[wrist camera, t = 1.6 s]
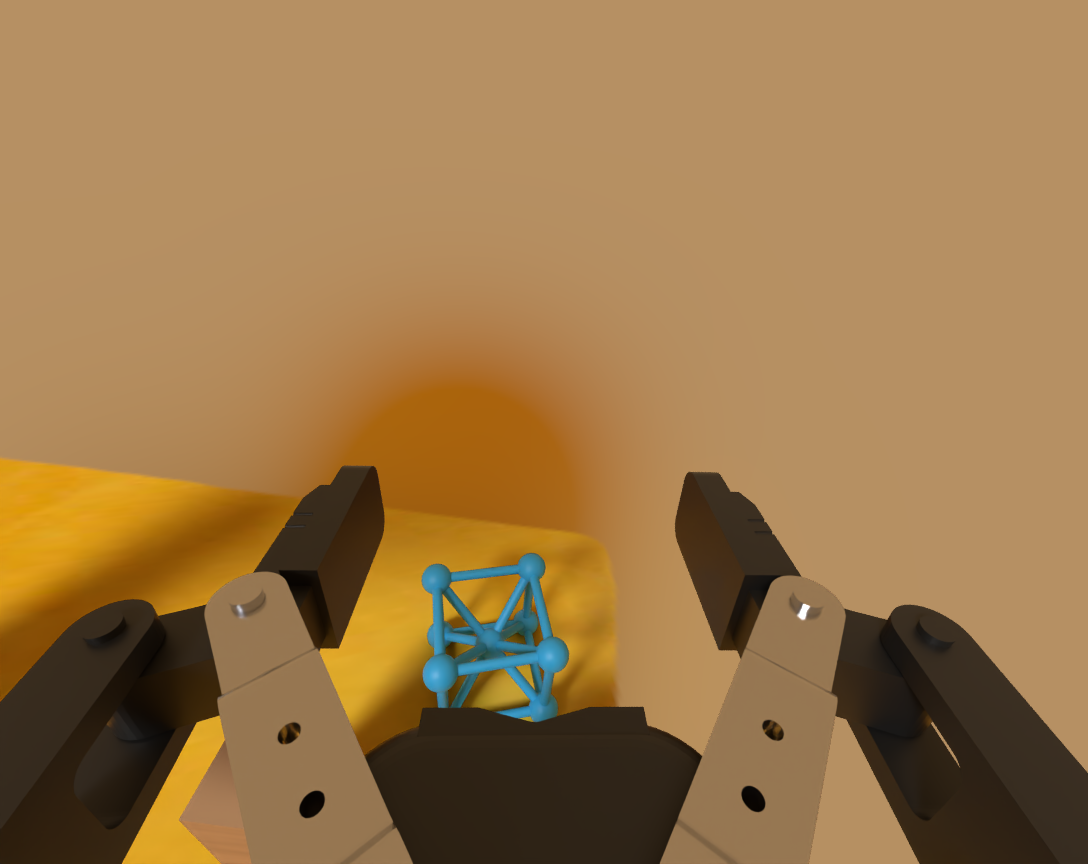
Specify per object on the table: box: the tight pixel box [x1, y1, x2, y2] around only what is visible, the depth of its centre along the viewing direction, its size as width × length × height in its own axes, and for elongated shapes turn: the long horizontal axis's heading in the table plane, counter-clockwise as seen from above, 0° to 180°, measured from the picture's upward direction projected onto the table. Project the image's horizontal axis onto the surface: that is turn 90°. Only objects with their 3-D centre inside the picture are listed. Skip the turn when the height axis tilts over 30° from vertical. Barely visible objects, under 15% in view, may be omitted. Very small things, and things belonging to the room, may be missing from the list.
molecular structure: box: [422, 553, 569, 722], centre depth 38 cm, size 10×10×10 cm
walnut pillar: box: [179, 741, 251, 864], centre depth 27 cm, size 5×5×12 cm
